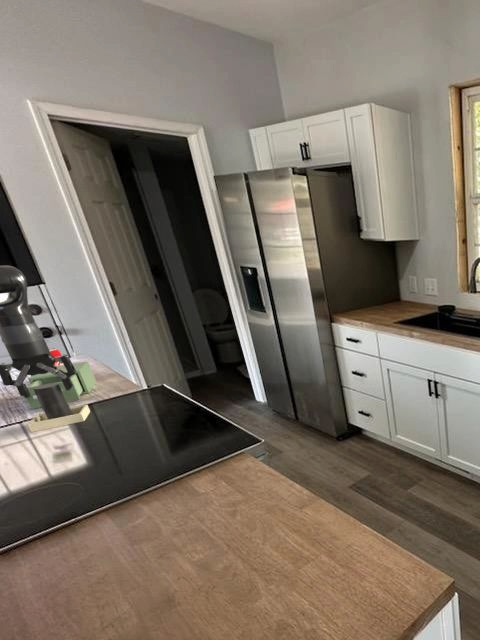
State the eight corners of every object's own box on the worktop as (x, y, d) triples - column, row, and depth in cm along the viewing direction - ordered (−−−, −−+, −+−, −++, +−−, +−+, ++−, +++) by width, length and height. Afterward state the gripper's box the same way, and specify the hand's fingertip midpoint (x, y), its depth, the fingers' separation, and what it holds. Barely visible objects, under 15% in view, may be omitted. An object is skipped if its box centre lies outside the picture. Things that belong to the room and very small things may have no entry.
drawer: (76, 403, 135) (68, 384, 133) (26, 413, 129) (16, 393, 127) (87, 388, 149) (80, 371, 147) (43, 396, 143) (34, 378, 140)
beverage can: (68, 379, 164) (55, 350, 160) (46, 382, 161) (32, 353, 156) (72, 375, 169) (60, 346, 164) (51, 378, 165) (38, 349, 161)
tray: (31, 432, 118) (27, 424, 117) (40, 421, 125) (36, 414, 124) (84, 421, 124) (81, 413, 123) (90, 411, 131) (87, 404, 130)
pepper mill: (47, 425, 121) (30, 390, 117) (52, 419, 125) (35, 385, 121) (71, 420, 124) (56, 386, 120) (75, 414, 128) (60, 381, 124)
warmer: (89, 393, 147) (79, 370, 144) (39, 402, 140) (27, 378, 137) (96, 382, 158) (87, 361, 155) (50, 390, 152) (40, 368, 148)
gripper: (62, 333, 122) (84, 384, 128) (-9, 341, 114) (17, 395, 120) (56, 338, 116) (79, 391, 122) (-20, 347, 109) (8, 403, 114)
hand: (48, 393), depth 121 cm, fingers open, 8 cm apart
